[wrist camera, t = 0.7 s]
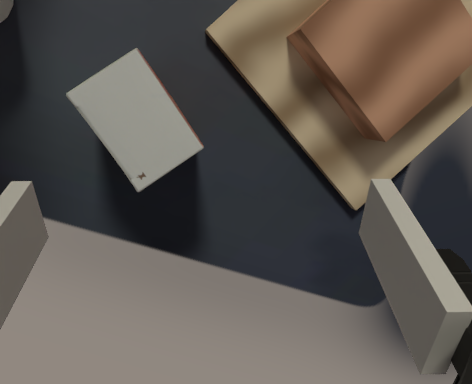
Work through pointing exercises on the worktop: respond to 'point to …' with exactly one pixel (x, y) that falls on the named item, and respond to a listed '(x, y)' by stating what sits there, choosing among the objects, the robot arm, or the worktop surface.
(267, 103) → the tower base
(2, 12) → the shot glass
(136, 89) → the small box
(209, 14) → the worktop surface
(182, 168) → the worktop surface
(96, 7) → the worktop surface
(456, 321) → the robot arm
